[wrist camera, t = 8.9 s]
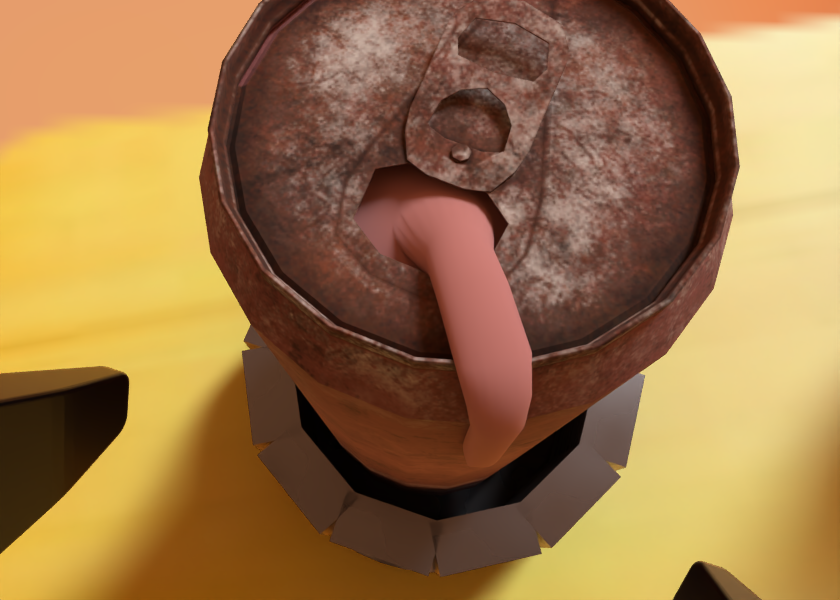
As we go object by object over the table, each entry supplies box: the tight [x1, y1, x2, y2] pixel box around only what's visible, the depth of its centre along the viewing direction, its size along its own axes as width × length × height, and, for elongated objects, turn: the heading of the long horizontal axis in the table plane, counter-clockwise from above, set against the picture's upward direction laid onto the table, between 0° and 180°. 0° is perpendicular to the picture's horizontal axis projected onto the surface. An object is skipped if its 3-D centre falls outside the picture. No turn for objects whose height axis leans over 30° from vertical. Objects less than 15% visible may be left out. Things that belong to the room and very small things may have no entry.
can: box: [199, 0, 740, 496], centre depth 13 cm, size 6×6×14 cm
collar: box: [242, 325, 645, 577], centre depth 18 cm, size 10×10×4 cm
